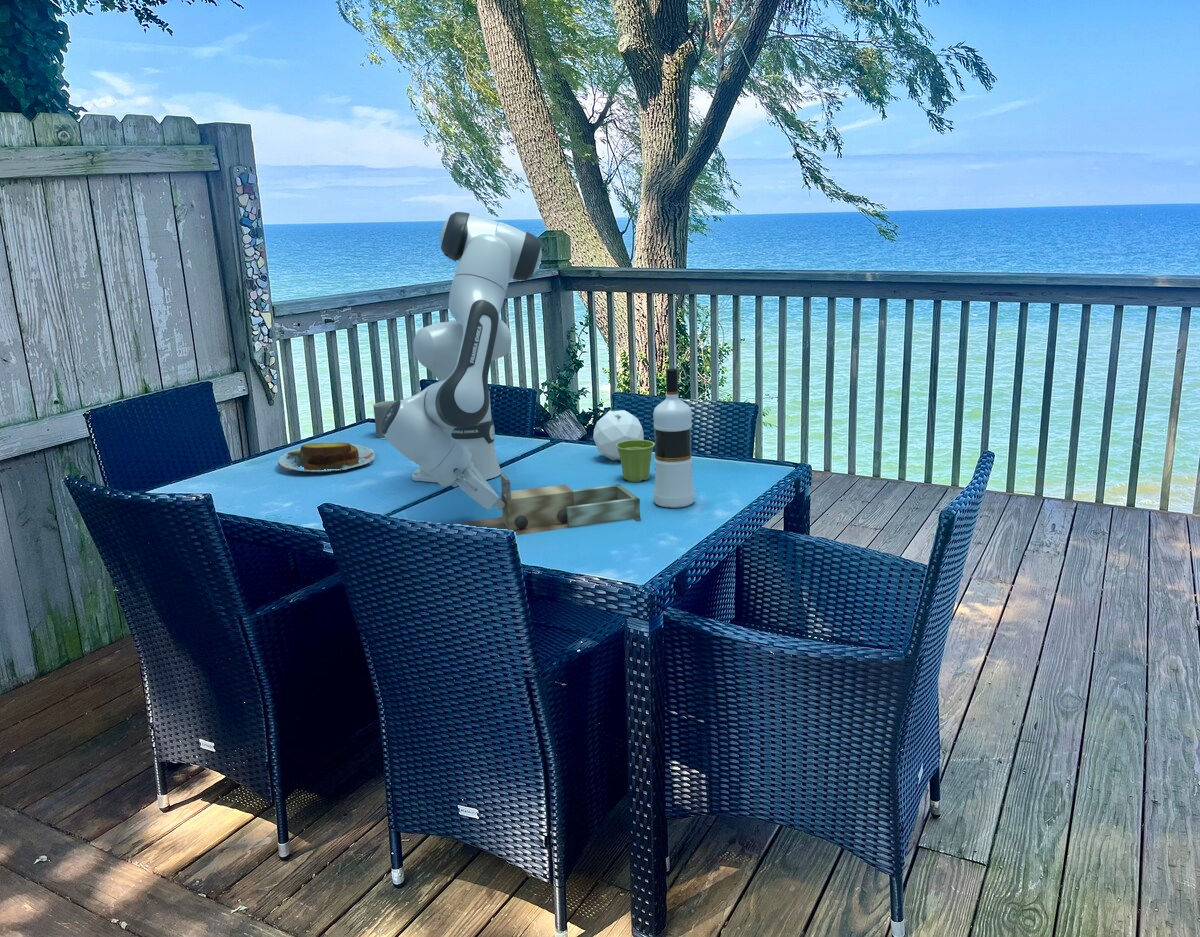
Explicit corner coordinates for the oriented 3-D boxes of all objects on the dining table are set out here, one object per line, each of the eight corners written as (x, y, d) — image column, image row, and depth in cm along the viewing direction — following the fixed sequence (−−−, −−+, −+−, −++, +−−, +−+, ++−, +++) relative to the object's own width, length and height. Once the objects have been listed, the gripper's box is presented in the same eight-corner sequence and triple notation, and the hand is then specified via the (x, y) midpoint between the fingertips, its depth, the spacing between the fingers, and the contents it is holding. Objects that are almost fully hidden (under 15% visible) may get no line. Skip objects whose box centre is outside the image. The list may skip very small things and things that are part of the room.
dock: (462, 545, 183) (460, 523, 182) (451, 526, 195) (449, 505, 194) (640, 520, 194) (640, 499, 193) (619, 503, 206) (619, 483, 205)
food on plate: (369, 449, 269) (366, 427, 267) (384, 469, 246) (382, 445, 244) (274, 461, 259) (271, 437, 257) (282, 482, 236) (278, 457, 235)
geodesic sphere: (655, 444, 236) (644, 396, 241) (603, 449, 233) (593, 400, 238) (643, 466, 249) (633, 420, 254) (593, 471, 246) (584, 425, 251)
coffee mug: (369, 437, 283) (366, 405, 281) (394, 431, 291) (391, 399, 289) (399, 441, 276) (396, 408, 273) (424, 435, 284) (421, 403, 281)
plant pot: (652, 484, 221) (651, 449, 218) (613, 483, 223) (612, 448, 220) (658, 474, 230) (657, 440, 227) (620, 473, 231) (619, 439, 229)
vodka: (675, 511, 199) (673, 373, 192) (644, 503, 206) (641, 369, 198) (703, 501, 205) (702, 367, 198) (672, 494, 212) (670, 363, 204)
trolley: (510, 531, 188) (506, 481, 186) (502, 520, 195) (499, 472, 193) (576, 522, 193) (573, 473, 190) (566, 512, 200) (563, 465, 197)
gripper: (470, 464, 176) (523, 507, 181) (453, 442, 195) (501, 482, 200) (448, 489, 176) (502, 532, 181) (433, 465, 195) (482, 504, 200)
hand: (501, 505), depth 191 cm, fingers closed, pressing on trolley
